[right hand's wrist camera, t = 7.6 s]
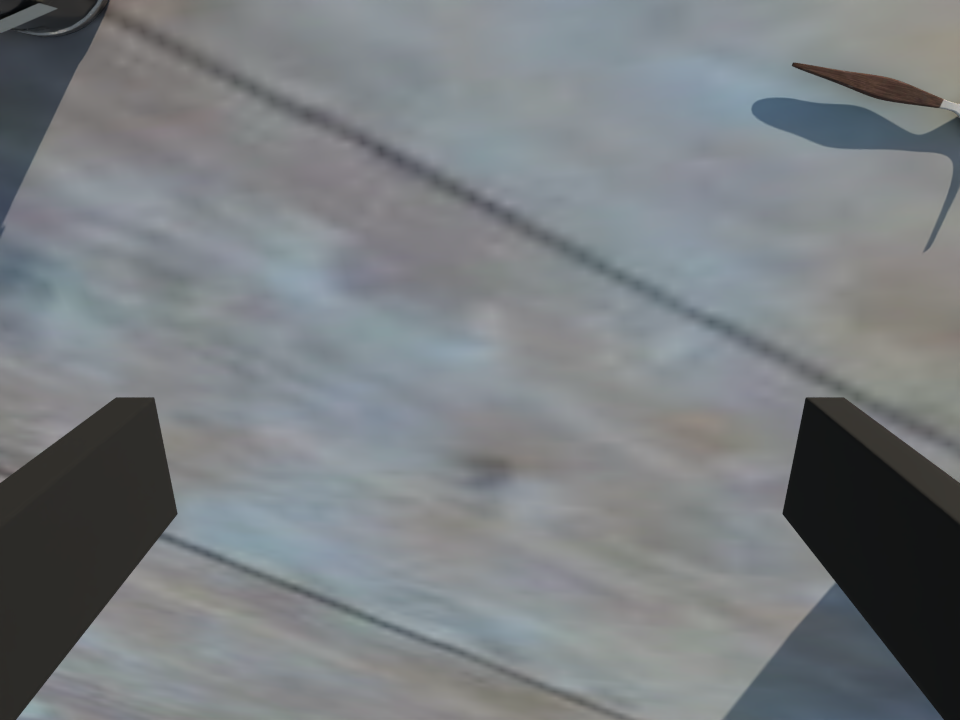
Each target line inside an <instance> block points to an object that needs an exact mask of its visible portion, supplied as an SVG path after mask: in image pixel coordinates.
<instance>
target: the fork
mask: <svg viewBox="0 0 960 720" xmlns="http://www.w3.org/2000/svg"><path fill="white" fill-rule="evenodd" d="M792 66H793V67H795V68H798V69H800V70H803V71H806V72H808V73H811V74H814V75H817V76H819V77H822V78H825V79H827V80H830V81H833V82H835V83H838V84H841V85H843V86H845V87H848V88H850V89H853V90H855V91H858V92H860V93H863V94H865V95H868V96H871V97H874V98H877V99H881V100H885V101H891V102H897V103H904V104H912V105H919V106H927V107H934V108H941V109H947V110H950V111H953V112H954V113H956V114H957V115H958V117H959V118H960V104H956V103H952V102H949V101H947V100H944V99H942V98H939V97H937V96H935V95H932V94H930V93H928V92H925V91H923V90H921V89H918V88H916V87H914V86H911V85H909V84H906V83H904V82H901V81H898V80H895V79H892V78H888V77H883V76H877V75H870V74H863V73H856V72H848V71H842V70H836V69H829V68H824V67H818V66H812V65H806V64H800V63H793V64H792Z"/></svg>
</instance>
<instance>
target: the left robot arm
mask: <svg viewBox="0 0 960 720" xmlns="http://www.w3.org/2000/svg"><path fill="white" fill-rule="evenodd" d="M107 2H108V0H0V33H3V32H5V31H7V30H10V29H12V30H15V31H18V32H21V33H26V34H31V35H35V36H43V37H55V36H62V35H67V34H70V33H73V32H76V31H78V30H80V29H82V28H84V27H85V26H87V25H88V24H89V23H91V22H92V21H93V20H94V19H95V18H96V17H97V16H98V15H99V14H100V13H101V11H102V10H103V8H104V7H105V5H106V4H107Z"/></svg>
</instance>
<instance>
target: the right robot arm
mask: <svg viewBox="0 0 960 720" xmlns="http://www.w3.org/2000/svg"><path fill="white" fill-rule="evenodd" d="M176 515H177V509H176V504H175V499H174V494H173V489H172V484H171V479H170V474H169V469H168V464H167V459H166V454H165V449H164V444H163V439H162V434H161V429H160V424H159V419H158V414H157V409H156V404H155V399H154V398H115V399H114V400H112V401H111V402H109V403H108V404H107V405H105V406H104V407H103V408H101V409H100V410H99V411H97V412H96V413H95V414H93V415H92V416H91V417H89V418H88V419H86V420H85V421H84V422H82V423H81V424H80V425H78V426H77V427H76V428H74V429H73V430H72V431H70V432H69V433H68V434H66V435H65V436H63V437H62V438H61V439H59V440H58V441H57V442H55V443H54V444H53V445H51V446H50V447H49V448H47V449H46V450H45V451H43V452H42V453H40V454H39V455H38V456H36V457H35V458H34V459H32V460H31V461H30V462H28V463H27V464H26V465H24V466H23V467H22V468H20V469H19V470H17V471H16V472H15V473H13V474H12V475H11V476H9V477H8V478H7V479H5V480H4V481H3V482H1V483H0V720H16V719H17V718H18V716H19V715H20V714H21V713H22V711H23V710H24V709H25V708H26V706H27V705H28V704H29V702H30V701H31V700H32V699H33V697H34V696H35V695H36V694H37V692H38V691H39V690H40V688H41V687H42V686H43V685H44V683H45V682H46V681H47V679H48V678H49V677H50V676H51V674H52V673H53V672H54V671H55V669H56V668H57V667H58V665H59V664H60V663H61V662H62V660H63V659H64V658H65V657H66V655H67V654H68V653H69V651H70V650H71V649H72V648H73V646H74V645H75V644H76V643H77V641H78V640H79V639H80V637H81V636H82V635H83V634H84V632H85V631H86V630H87V629H88V627H89V626H90V625H91V623H92V622H93V621H94V620H95V618H96V617H97V616H98V615H99V613H100V612H101V611H102V609H103V608H104V607H105V606H106V604H107V603H108V602H109V601H110V599H111V598H112V597H113V595H114V594H115V593H116V592H117V590H118V589H119V588H120V587H121V585H122V584H123V583H124V581H125V580H126V579H127V578H128V576H129V575H130V574H131V573H132V571H133V570H134V569H135V567H136V566H137V565H138V564H139V562H140V561H141V560H142V559H143V557H144V556H145V555H146V553H147V552H148V551H149V550H150V548H151V547H152V546H153V544H154V543H155V542H156V541H157V539H158V538H159V537H160V536H161V534H162V533H163V532H164V530H165V529H166V528H167V527H168V525H169V524H170V523H171V522H172V520H173V519H174V518H175V516H176ZM783 515H784V516H785V518H786V519H787V520H788V522H789V523H790V524H791V525H792V527H793V528H794V529H795V530H796V532H797V533H798V534H799V536H800V537H801V538H802V539H803V541H804V542H805V543H806V544H807V546H808V547H809V548H810V550H811V551H812V552H813V553H814V555H815V556H816V557H817V559H818V560H819V561H820V562H821V564H822V565H823V566H824V567H825V569H826V570H827V571H828V573H829V574H830V575H831V576H832V578H833V579H834V580H835V581H836V583H837V584H838V585H839V587H840V588H841V589H842V590H843V592H844V593H845V594H846V595H847V597H848V598H849V599H850V601H851V602H852V603H853V604H854V606H855V607H856V608H857V609H858V611H859V612H860V613H861V615H862V616H863V617H864V618H865V620H866V621H867V622H868V623H869V625H870V626H871V627H872V629H873V630H874V631H875V632H876V634H877V635H878V636H879V637H880V639H881V640H882V641H883V643H884V644H885V645H886V646H887V648H888V649H889V650H890V651H891V653H892V654H893V655H894V657H895V658H896V659H897V660H898V662H899V663H900V664H901V665H902V667H903V668H904V669H905V671H906V672H907V673H908V674H909V676H910V677H911V678H912V679H913V681H914V682H915V683H916V685H917V686H918V687H919V688H920V690H921V691H922V692H923V694H924V695H925V696H926V697H927V699H928V700H929V701H930V702H931V704H932V705H933V706H934V708H935V709H936V710H937V711H938V713H939V714H940V715H941V716H942V718H943V719H944V720H960V483H959V482H957V481H956V480H955V479H953V478H952V477H951V476H949V475H948V474H947V473H945V472H944V471H943V470H941V469H940V468H938V467H937V466H936V465H934V464H933V463H932V462H930V461H929V460H928V459H926V458H925V457H924V456H922V455H921V454H920V453H918V452H917V451H915V450H914V449H913V448H911V447H910V446H909V445H907V444H906V443H905V442H903V441H902V440H901V439H899V438H898V437H897V436H895V435H894V434H892V433H891V432H890V431H888V430H887V429H886V428H884V427H883V426H882V425H880V424H879V423H878V422H876V421H875V420H874V419H872V418H871V417H869V416H868V415H867V414H865V413H864V412H863V411H861V410H860V409H859V408H857V407H856V406H855V405H853V404H852V403H851V402H849V401H848V400H846V399H845V398H806V399H805V404H804V409H803V414H802V419H801V424H800V429H799V434H798V439H797V444H796V449H795V454H794V459H793V464H792V469H791V474H790V479H789V484H788V489H787V494H786V499H785V504H784V509H783Z"/></svg>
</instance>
